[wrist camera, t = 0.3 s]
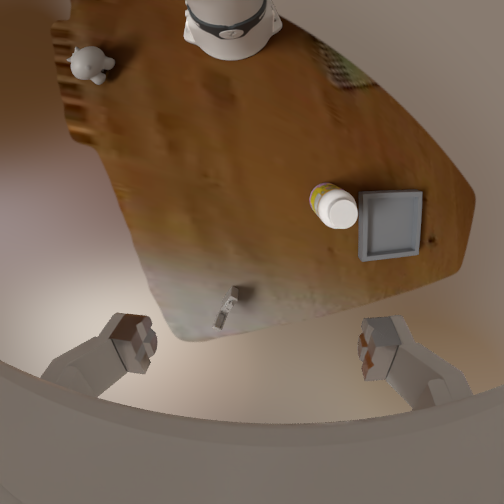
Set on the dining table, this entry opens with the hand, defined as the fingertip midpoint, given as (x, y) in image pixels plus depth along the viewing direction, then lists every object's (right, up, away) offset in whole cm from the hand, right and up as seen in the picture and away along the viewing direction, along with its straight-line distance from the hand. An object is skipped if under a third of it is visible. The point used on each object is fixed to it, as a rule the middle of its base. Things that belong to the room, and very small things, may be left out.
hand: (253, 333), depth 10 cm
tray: (+29, +9, +45) cm, 54 cm away
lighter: (-5, -7, +52) cm, 53 cm away
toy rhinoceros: (-33, +43, +33) cm, 63 cm away
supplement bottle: (+14, +13, +44) cm, 48 cm away
